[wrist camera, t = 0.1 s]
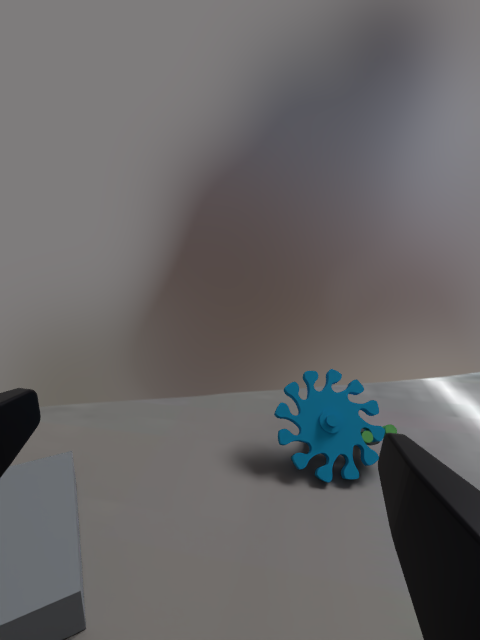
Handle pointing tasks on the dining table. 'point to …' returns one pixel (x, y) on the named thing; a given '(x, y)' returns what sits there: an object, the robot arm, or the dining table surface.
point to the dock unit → (40, 551)
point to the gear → (331, 425)
